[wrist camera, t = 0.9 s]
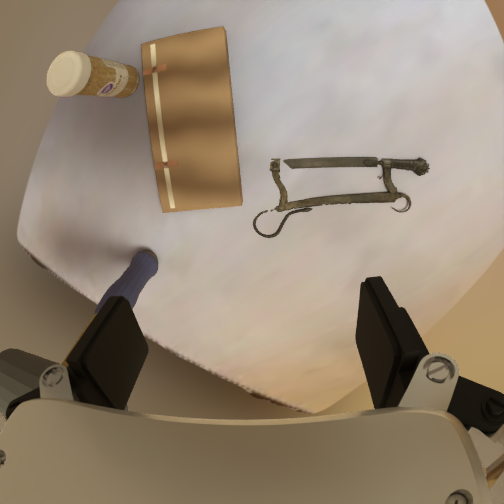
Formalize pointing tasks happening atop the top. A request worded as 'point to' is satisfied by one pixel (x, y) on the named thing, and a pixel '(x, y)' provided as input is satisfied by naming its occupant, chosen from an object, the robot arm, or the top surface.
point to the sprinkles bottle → (90, 76)
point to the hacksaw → (391, 196)
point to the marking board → (192, 120)
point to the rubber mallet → (31, 366)
